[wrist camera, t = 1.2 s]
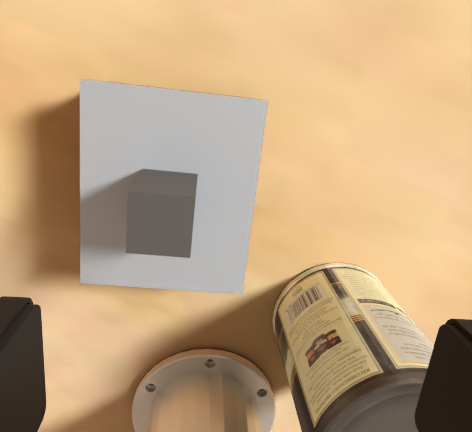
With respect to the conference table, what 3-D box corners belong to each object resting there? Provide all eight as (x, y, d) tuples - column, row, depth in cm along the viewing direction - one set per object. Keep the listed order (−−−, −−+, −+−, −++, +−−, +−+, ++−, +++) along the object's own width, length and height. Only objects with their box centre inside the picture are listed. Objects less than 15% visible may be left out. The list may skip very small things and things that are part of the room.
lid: (240, 287, 29) (249, 339, 23) (84, 276, 28) (52, 328, 22) (265, 100, 25) (283, 107, 19) (84, 78, 24) (46, 80, 18)
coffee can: (360, 378, 38) (443, 542, 25) (254, 350, 36) (282, 510, 23) (412, 281, 35) (537, 407, 22) (299, 245, 33) (361, 359, 20)
